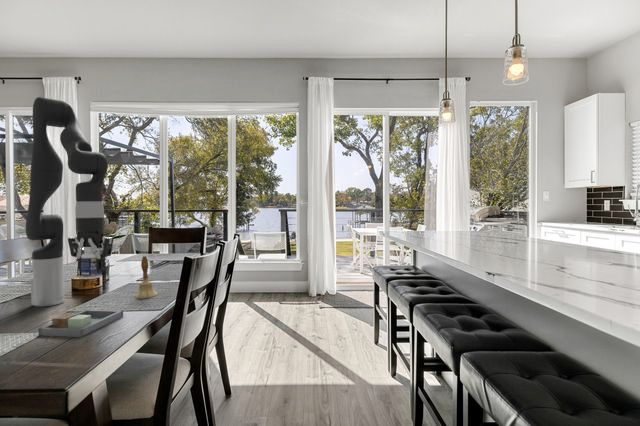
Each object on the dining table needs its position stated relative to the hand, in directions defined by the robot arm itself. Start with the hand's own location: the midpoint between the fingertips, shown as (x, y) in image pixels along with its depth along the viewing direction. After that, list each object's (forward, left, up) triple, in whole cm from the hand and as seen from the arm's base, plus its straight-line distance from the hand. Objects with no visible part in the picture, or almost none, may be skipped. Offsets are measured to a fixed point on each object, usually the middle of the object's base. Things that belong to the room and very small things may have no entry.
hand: (91, 270), depth 116 cm
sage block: (+3, -9, -16) cm, 18 cm away
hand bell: (-3, +33, -17) cm, 37 cm away
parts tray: (0, -4, -17) cm, 17 cm away
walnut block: (-2, -9, -16) cm, 18 cm away
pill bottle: (0, 0, -3) cm, 3 cm away
